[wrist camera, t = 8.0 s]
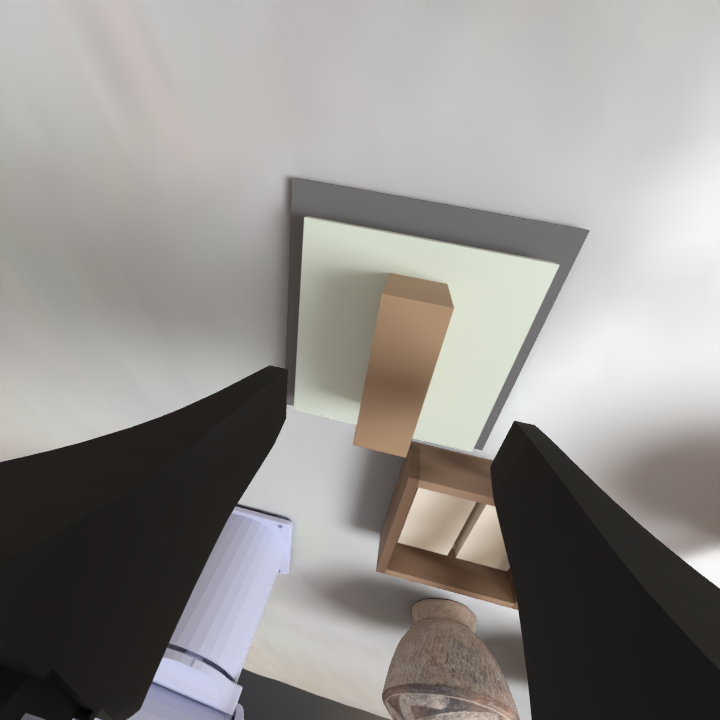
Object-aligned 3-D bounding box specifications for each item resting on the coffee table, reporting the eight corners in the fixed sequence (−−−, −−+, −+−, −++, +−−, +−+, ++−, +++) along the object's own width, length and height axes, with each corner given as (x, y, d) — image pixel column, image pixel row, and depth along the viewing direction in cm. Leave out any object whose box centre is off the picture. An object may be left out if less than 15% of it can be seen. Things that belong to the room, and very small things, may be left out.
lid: (300, 397, 18) (271, 448, 15) (313, 215, 13) (273, 224, 10) (468, 436, 18) (481, 500, 14) (548, 258, 13) (599, 286, 9)
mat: (286, 399, 19) (284, 403, 19) (295, 178, 13) (292, 177, 13) (480, 445, 18) (481, 450, 18) (584, 229, 12) (589, 230, 12)
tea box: (381, 528, 24) (376, 571, 22) (410, 436, 19) (408, 477, 17) (508, 561, 24) (520, 610, 21) (573, 475, 19) (599, 524, 16)
